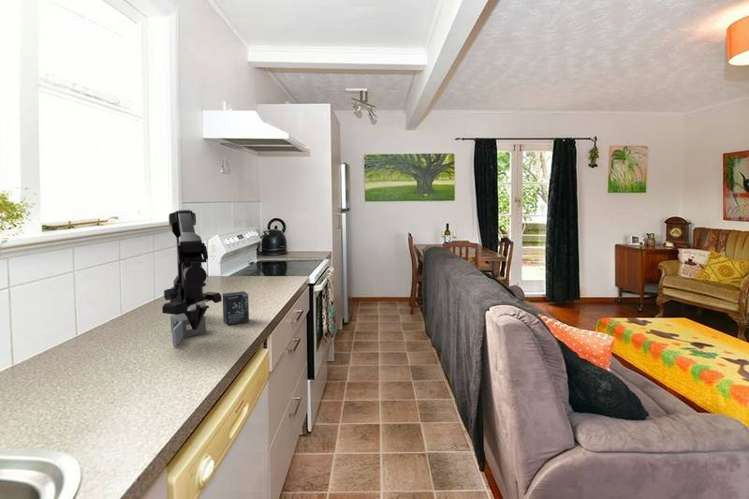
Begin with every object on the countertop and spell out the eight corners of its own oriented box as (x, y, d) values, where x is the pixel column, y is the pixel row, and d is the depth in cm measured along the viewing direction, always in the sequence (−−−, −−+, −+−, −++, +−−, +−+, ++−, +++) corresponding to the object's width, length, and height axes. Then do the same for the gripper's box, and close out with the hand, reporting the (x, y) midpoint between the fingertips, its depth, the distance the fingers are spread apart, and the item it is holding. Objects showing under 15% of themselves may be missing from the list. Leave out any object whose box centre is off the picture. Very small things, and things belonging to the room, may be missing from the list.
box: (227, 325, 150) (226, 296, 149) (223, 322, 155) (221, 293, 154) (249, 322, 154) (248, 293, 153) (244, 318, 159) (243, 290, 158)
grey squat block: (167, 332, 142) (166, 315, 141) (195, 326, 149) (194, 310, 148) (176, 338, 136) (175, 320, 135) (206, 332, 142) (205, 315, 141)
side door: (183, 337, 136) (182, 321, 136) (175, 346, 128) (175, 329, 127) (180, 337, 136) (179, 321, 136) (172, 346, 128) (171, 329, 127)
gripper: (195, 273, 143) (197, 319, 145) (147, 283, 126) (150, 335, 128) (221, 275, 139) (223, 322, 141) (175, 286, 122) (178, 339, 124)
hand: (194, 329), depth 133 cm, fingers closed
